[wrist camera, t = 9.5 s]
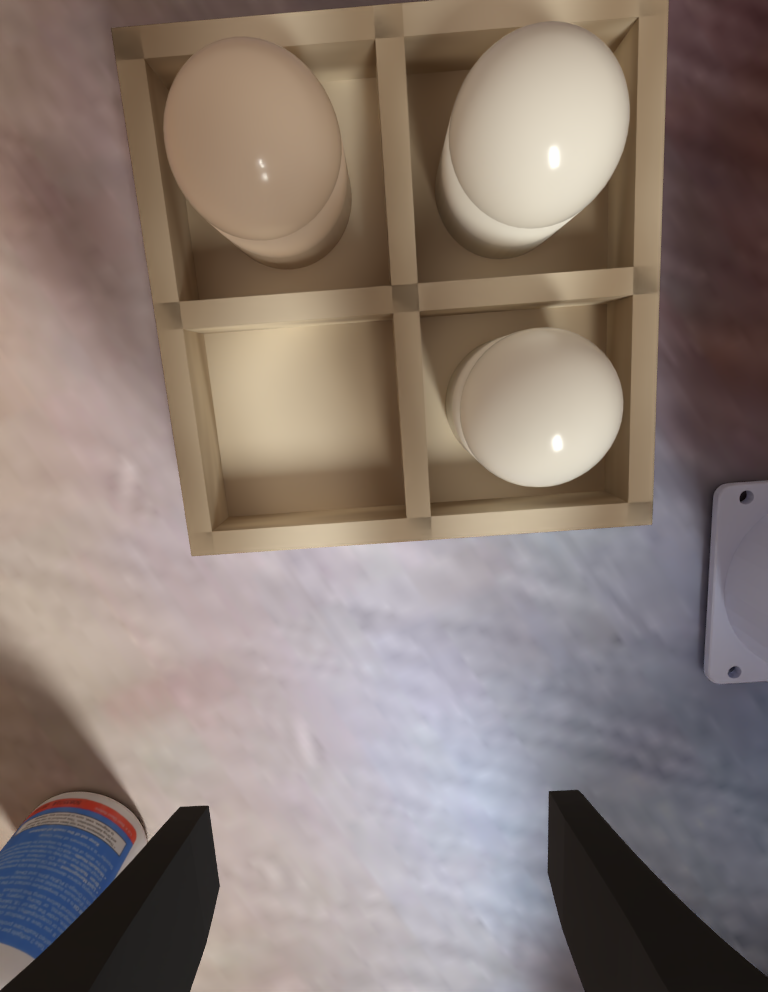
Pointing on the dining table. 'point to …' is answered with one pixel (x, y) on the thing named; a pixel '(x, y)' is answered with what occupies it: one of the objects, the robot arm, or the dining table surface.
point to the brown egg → (259, 151)
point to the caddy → (391, 293)
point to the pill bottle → (59, 870)
